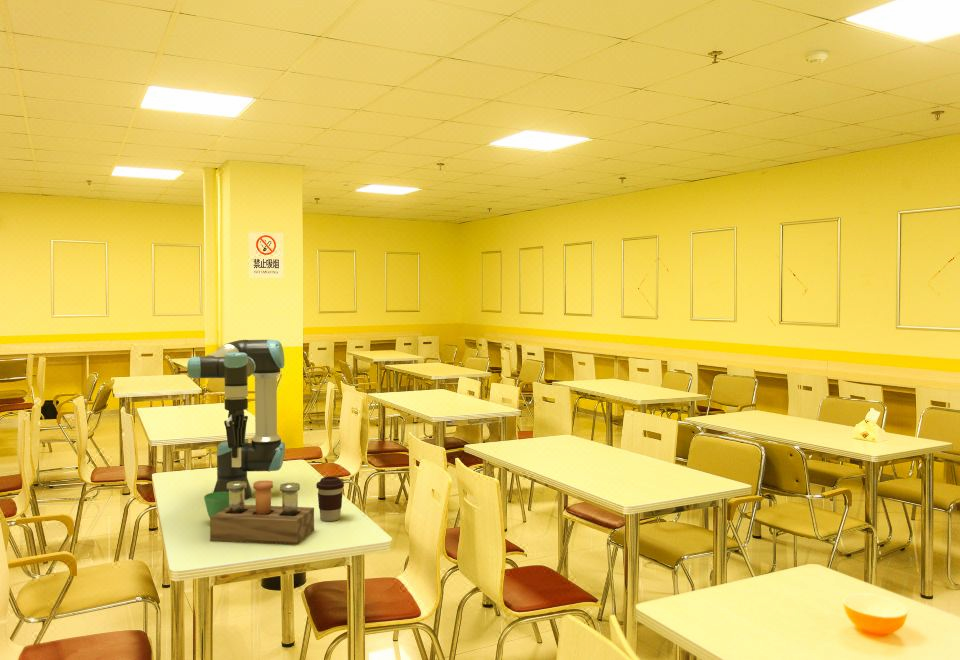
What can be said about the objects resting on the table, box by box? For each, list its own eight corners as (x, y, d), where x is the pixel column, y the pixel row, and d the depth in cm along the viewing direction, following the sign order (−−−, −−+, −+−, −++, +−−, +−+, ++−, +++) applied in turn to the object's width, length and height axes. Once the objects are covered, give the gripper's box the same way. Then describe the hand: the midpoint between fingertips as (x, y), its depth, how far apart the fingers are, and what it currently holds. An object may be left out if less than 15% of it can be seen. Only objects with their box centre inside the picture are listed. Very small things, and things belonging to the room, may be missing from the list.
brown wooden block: (232, 526, 256) (232, 504, 255) (314, 530, 252) (314, 507, 252) (210, 540, 240) (210, 517, 240) (296, 545, 236) (296, 520, 236)
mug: (214, 528, 254) (214, 500, 253) (198, 523, 259) (198, 495, 259) (250, 518, 265) (250, 491, 265) (234, 514, 271) (234, 487, 271)
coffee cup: (330, 524, 259) (330, 482, 258) (310, 520, 264) (310, 479, 264) (349, 517, 267) (349, 477, 267) (329, 513, 272) (329, 474, 272)
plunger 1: (232, 510, 250) (232, 480, 250) (249, 511, 250) (249, 481, 249) (223, 515, 244) (223, 484, 244) (241, 516, 243) (241, 485, 243)
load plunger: (258, 510, 249) (258, 480, 249) (276, 511, 248) (276, 480, 248) (250, 515, 243) (250, 484, 243) (268, 516, 242) (268, 485, 242)
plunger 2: (284, 512, 248) (284, 482, 248) (302, 513, 247) (302, 482, 247) (277, 518, 242) (277, 486, 241) (295, 519, 241) (295, 487, 240)
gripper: (234, 395, 253) (235, 462, 253) (216, 400, 240) (216, 470, 240) (255, 395, 252) (255, 463, 252) (237, 400, 239) (238, 471, 239)
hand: (236, 466), depth 246 cm, fingers closed
